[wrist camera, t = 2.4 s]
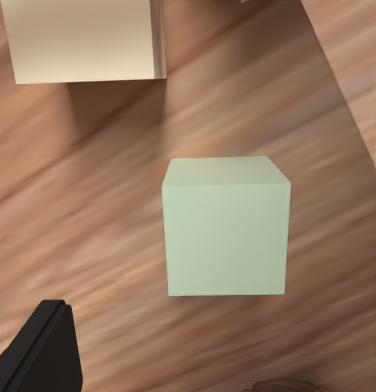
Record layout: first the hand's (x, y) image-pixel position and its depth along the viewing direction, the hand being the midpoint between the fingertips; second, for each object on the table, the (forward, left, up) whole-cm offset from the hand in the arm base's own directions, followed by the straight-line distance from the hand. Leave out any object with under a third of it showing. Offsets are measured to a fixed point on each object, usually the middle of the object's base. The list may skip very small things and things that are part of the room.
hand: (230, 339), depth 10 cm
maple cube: (-10, -5, -10) cm, 15 cm away
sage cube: (-1, 0, -10) cm, 10 cm away
